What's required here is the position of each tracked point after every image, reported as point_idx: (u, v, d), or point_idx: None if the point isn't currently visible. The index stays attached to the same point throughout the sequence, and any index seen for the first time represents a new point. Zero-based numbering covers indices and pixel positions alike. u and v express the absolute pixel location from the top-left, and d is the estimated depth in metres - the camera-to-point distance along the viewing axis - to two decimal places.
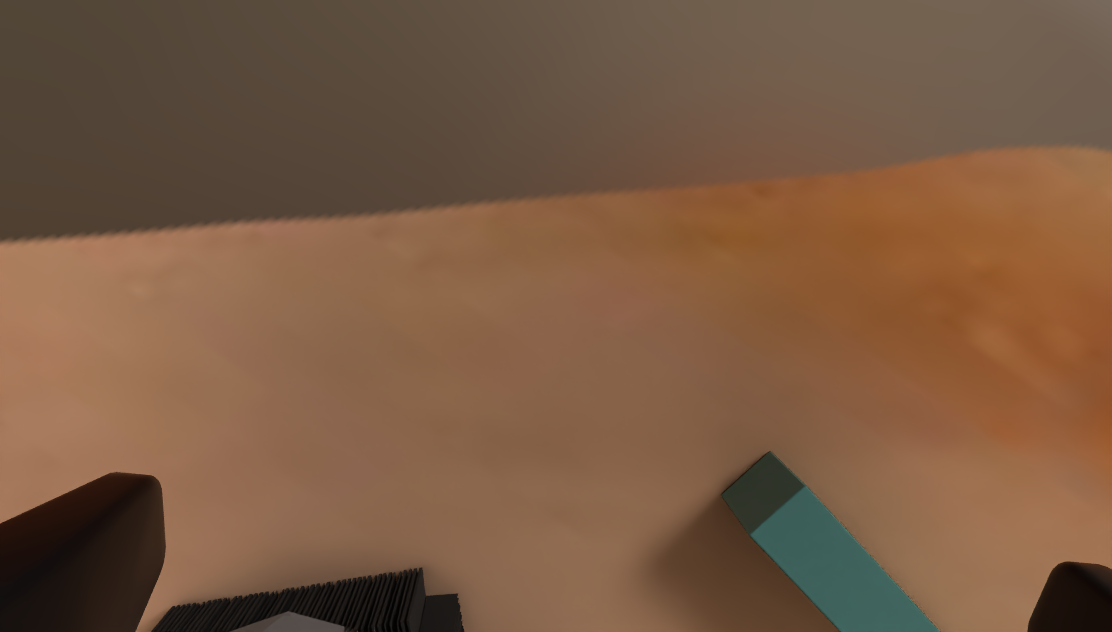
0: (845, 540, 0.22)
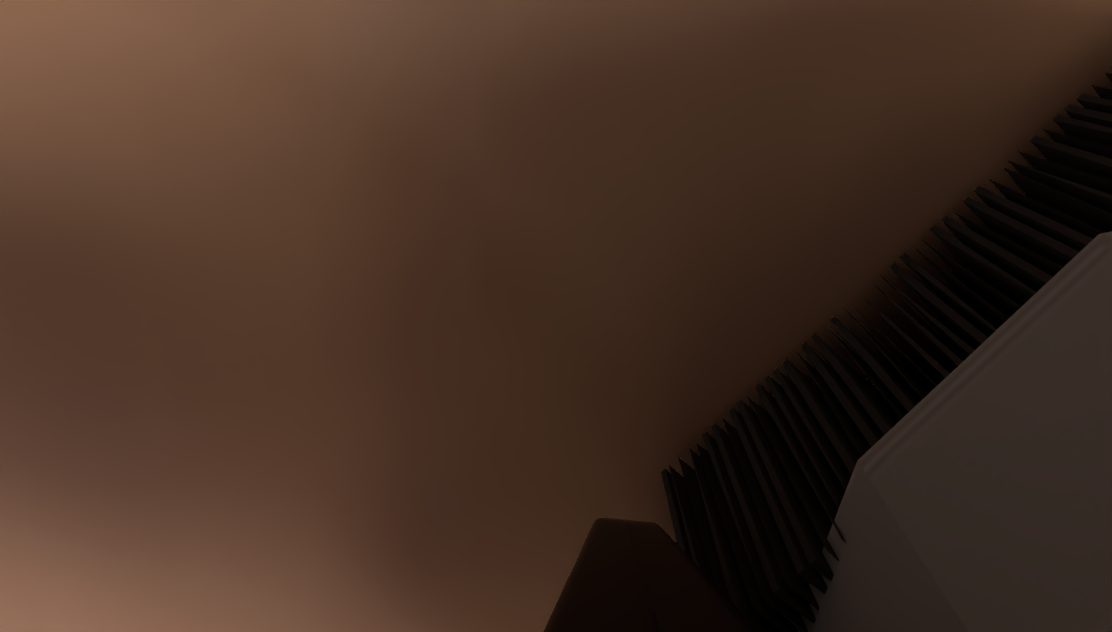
0: None
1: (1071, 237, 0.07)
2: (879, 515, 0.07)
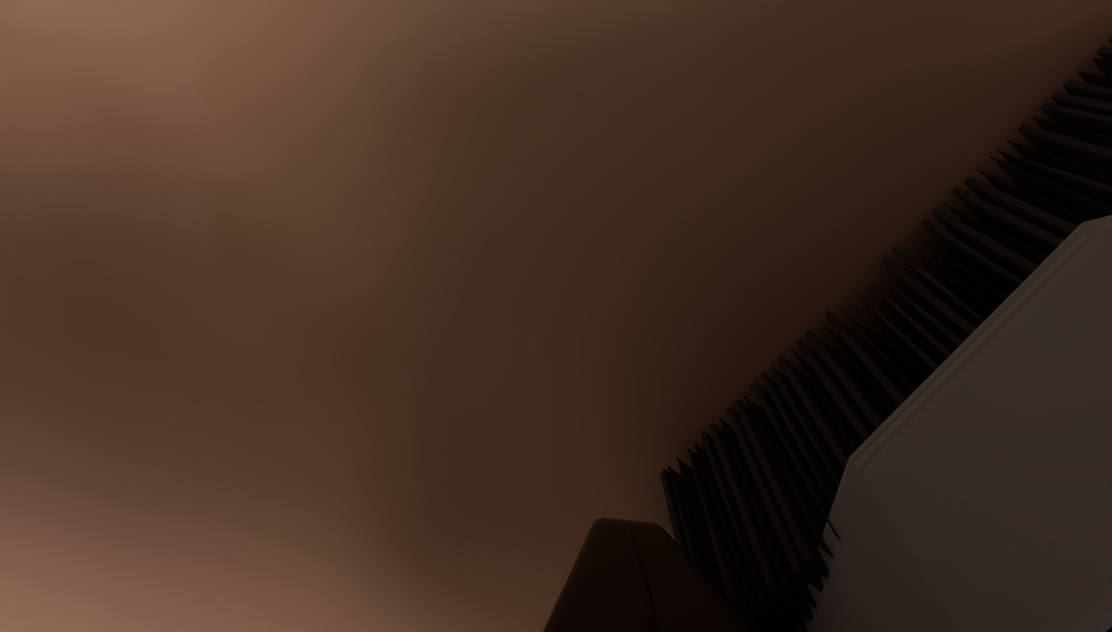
0: None
1: (1058, 225, 0.07)
2: (871, 511, 0.07)
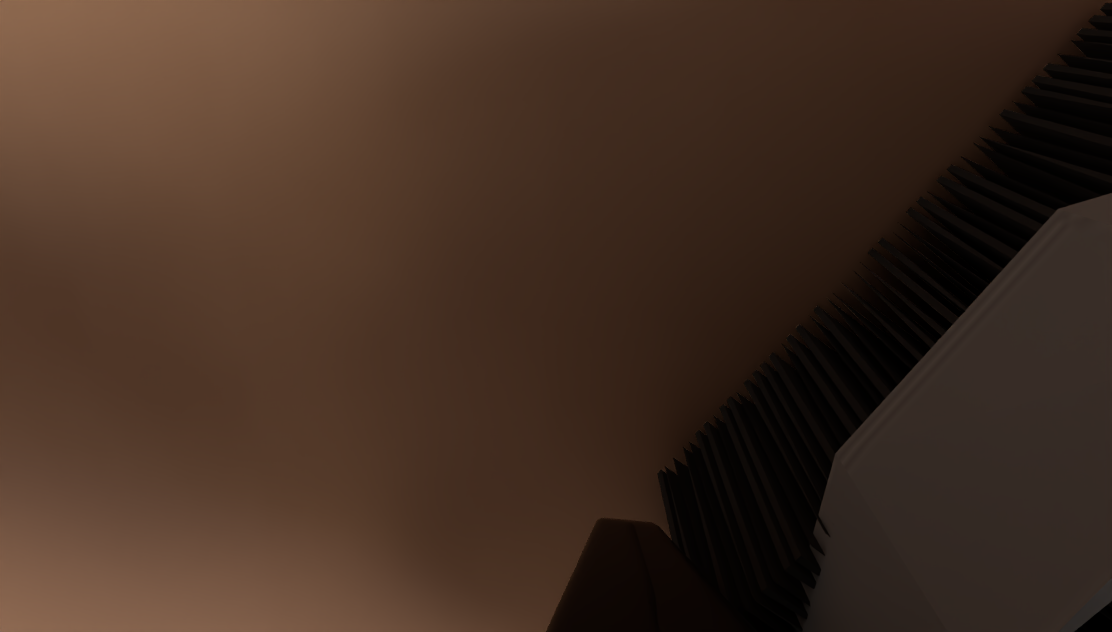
0: None
1: (1039, 211, 0.07)
2: (857, 507, 0.07)
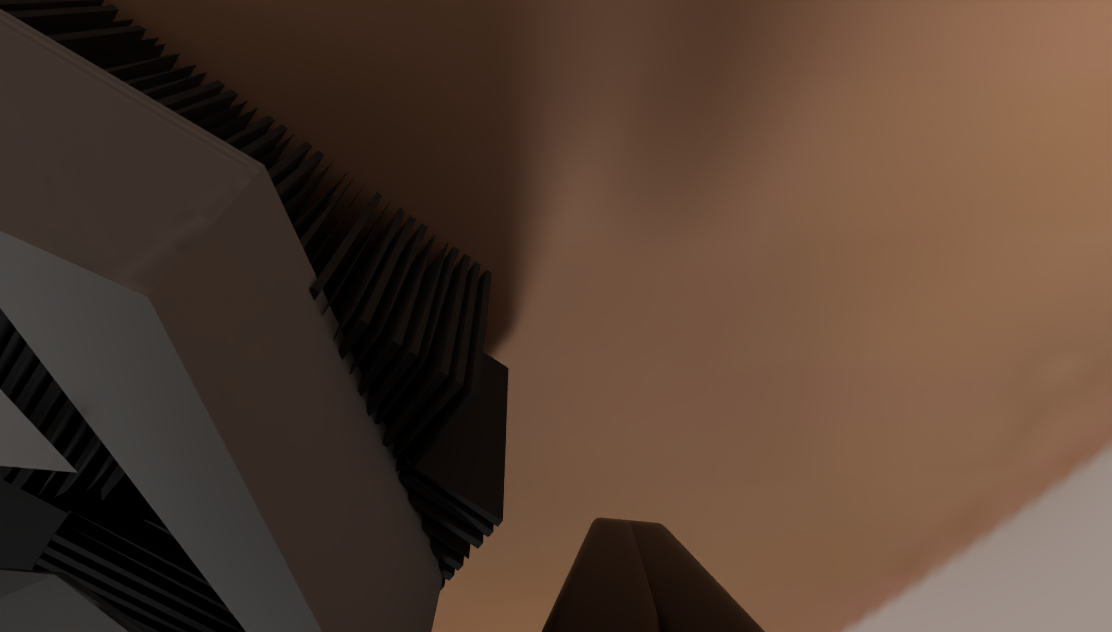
0: None
1: None
2: None
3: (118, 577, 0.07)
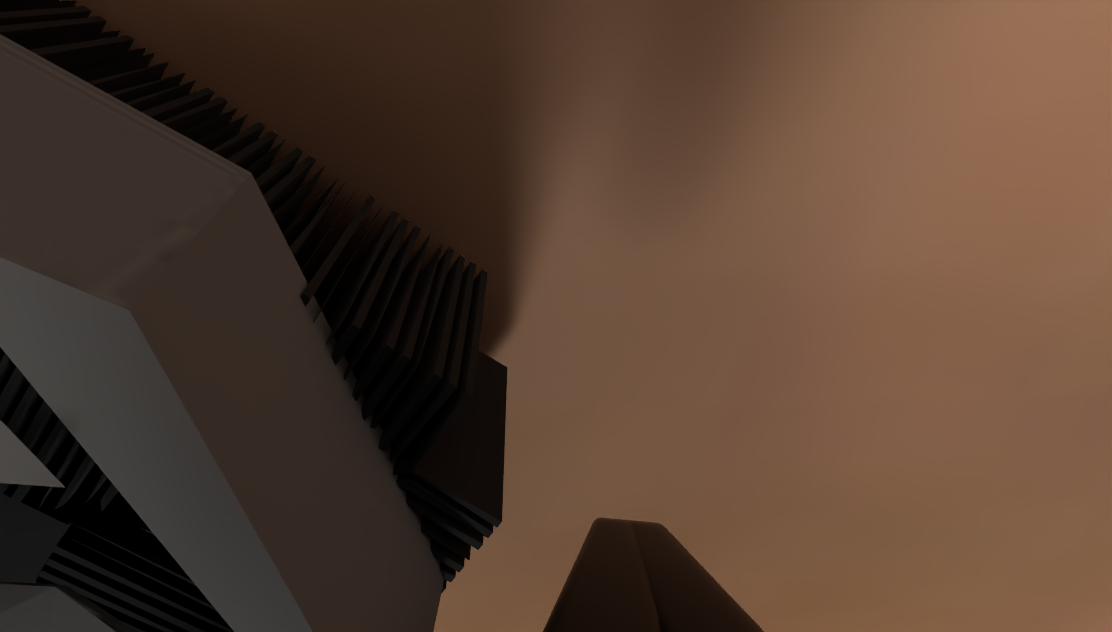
0: None
1: None
2: None
3: (121, 587, 0.07)
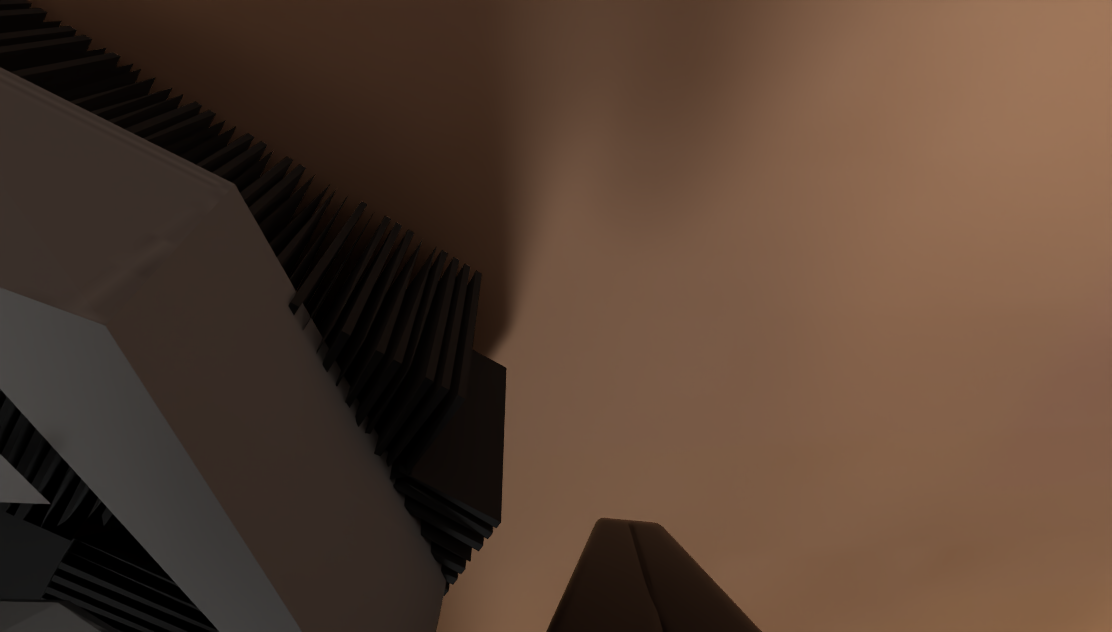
0: None
1: (248, 207, 0.07)
2: None
3: (126, 600, 0.07)
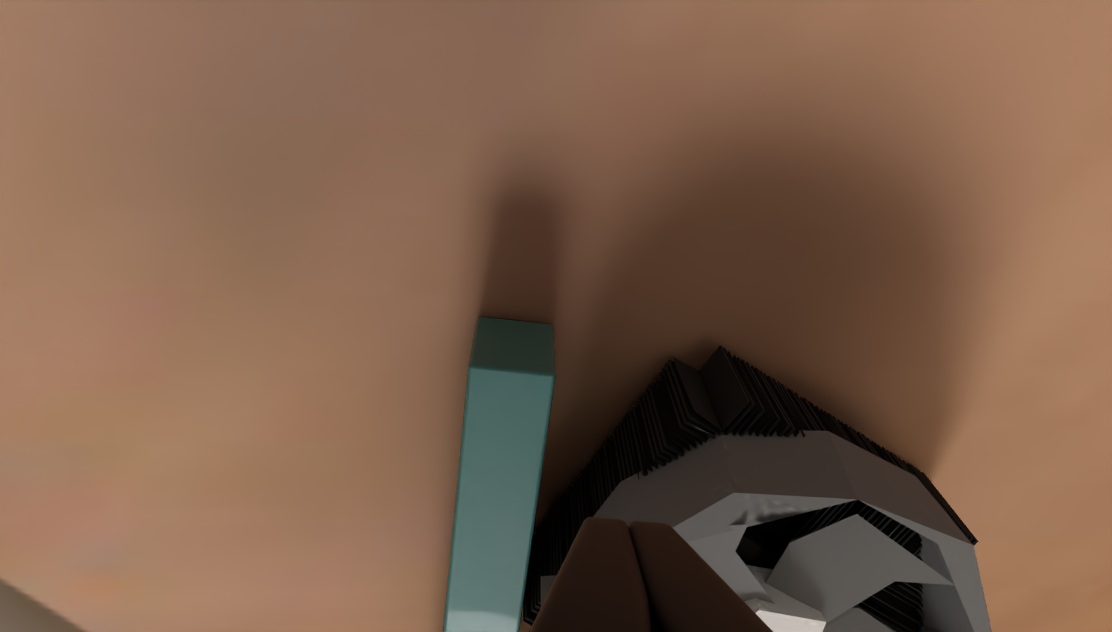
0: None
1: None
2: (828, 445, 0.19)
3: None
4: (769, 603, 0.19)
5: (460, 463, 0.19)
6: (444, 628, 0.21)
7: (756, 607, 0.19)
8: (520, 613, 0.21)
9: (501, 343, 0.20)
